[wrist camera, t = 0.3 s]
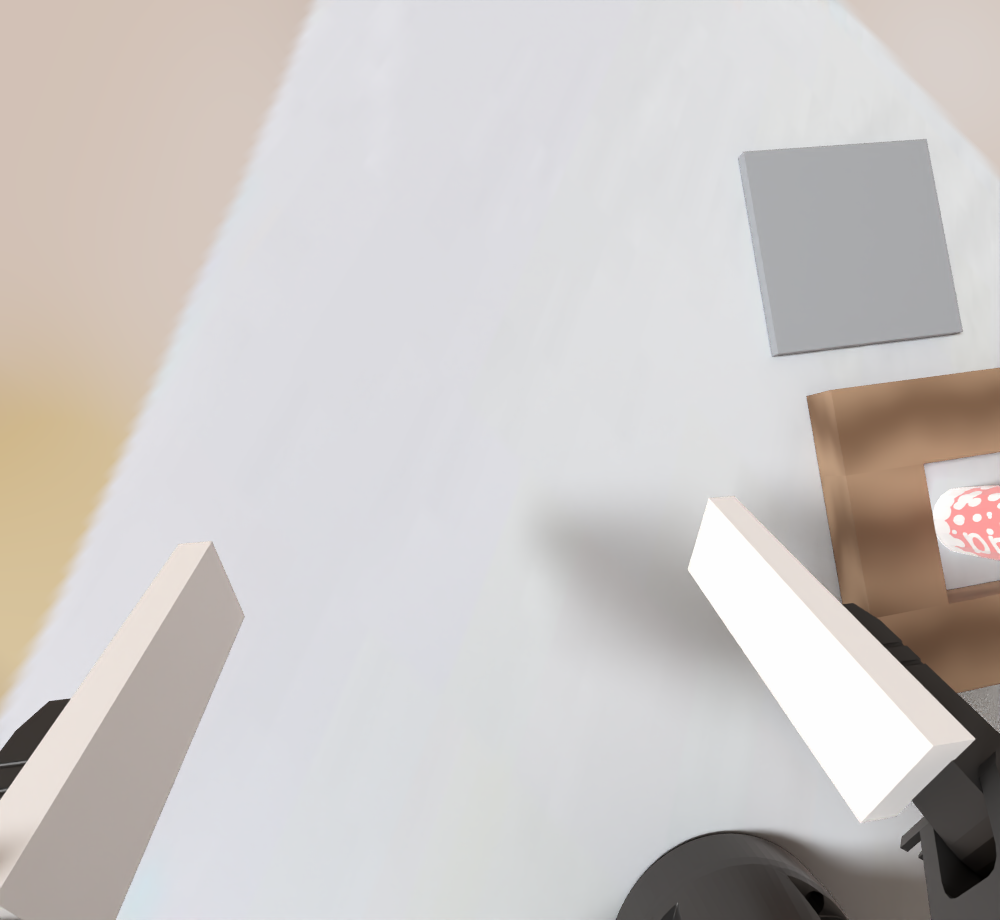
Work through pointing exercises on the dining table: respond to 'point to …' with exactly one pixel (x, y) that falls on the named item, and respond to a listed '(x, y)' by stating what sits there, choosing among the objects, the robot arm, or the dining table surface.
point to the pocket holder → (909, 512)
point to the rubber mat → (849, 245)
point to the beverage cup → (970, 520)
